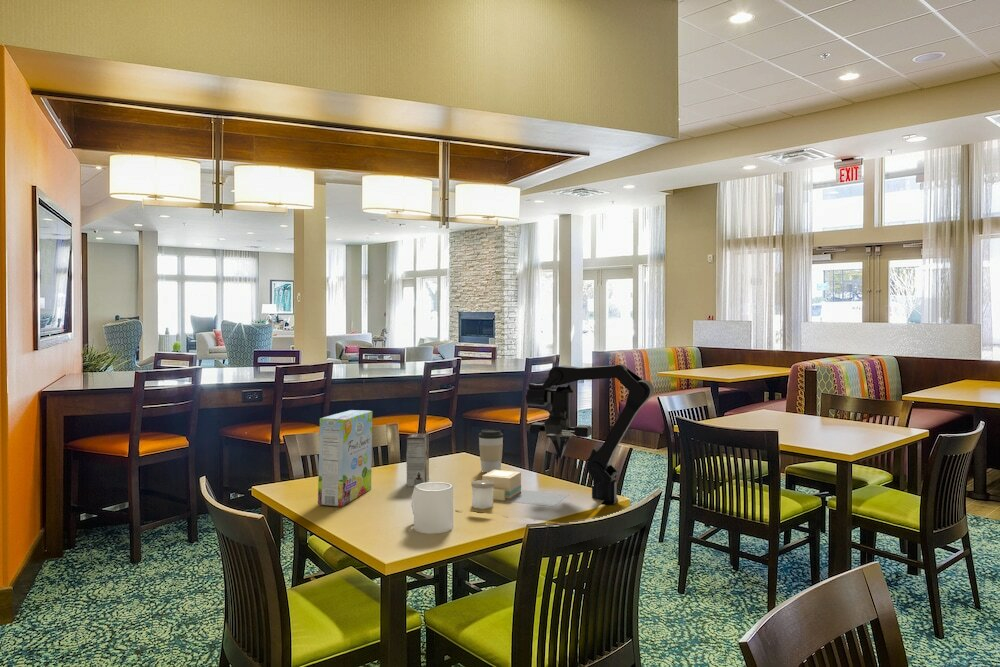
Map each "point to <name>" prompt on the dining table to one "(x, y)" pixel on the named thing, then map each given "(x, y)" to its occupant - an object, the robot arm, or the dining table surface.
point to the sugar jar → (482, 494)
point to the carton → (505, 481)
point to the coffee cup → (490, 449)
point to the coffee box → (417, 458)
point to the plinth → (530, 497)
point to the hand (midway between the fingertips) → (560, 457)
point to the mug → (433, 507)
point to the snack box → (344, 457)
